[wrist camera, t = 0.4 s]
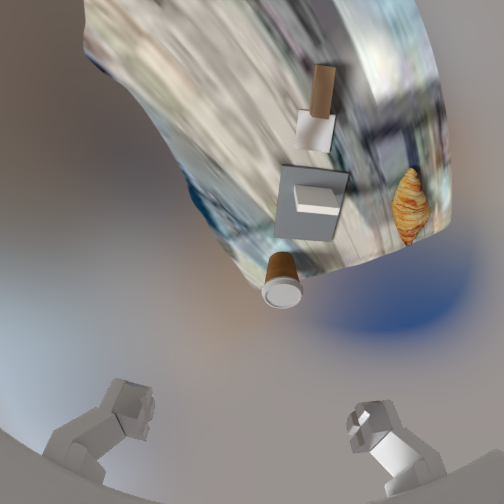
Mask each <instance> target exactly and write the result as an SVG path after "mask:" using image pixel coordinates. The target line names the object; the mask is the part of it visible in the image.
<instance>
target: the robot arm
mask: <svg viewBox="0 0 504 504" xmlns="http://www.w3.org/2000/svg"><path fill="white" fill-rule="evenodd" d="M154 409H155V401H154V398H153V397H152V388H151V387H148V386H144V385H140V384H136V383H133V382H129V381H126V380H122V379H119V378H114V379H113V380H112V381H111V383H110V386H109V387H108V389H107V392H106V394H105V396H104V398H103V400H102V402H101V404H100V407H99V408H97V407H95V408H93V409H91V410H90V411H88V412H86V413H84V414H83V415H81V416H79V417H77V418H76V419H74V420H72V421H71V422H69V423H67V424H65V425H63V426H62V427H60V428H58V429H56V430H54V431H53V433H52V435H51V437H50V439H49V441H48V443H47V446H46V448H45V450H44V452H43V454H42V456H41V455H40V454H38V453H36V452H35V451H33V450H31V449H30V448H28V447H27V446H25V445H24V444H22V443H20V442H19V441H18V440H16V439H15V438H13V437H12V436H11V435H9V434H8V433H6V432H5V431H4V430H2V429H1V428H0V504H163V503H159V502H155V501H151V500H147V499H143V498H140V497H137V496H133V495H130V494H127V493H123V492H121V491H118V490H115V489H112V488H109V487H107V486H104V485H102V484H103V480H104V477H105V473H106V471H105V470H104V468H103V467H102V466H101V465H100V464H99V463H98V462H97V460H98V459H99V458H100V457H102V456H103V455H104V454H105V453H107V452H108V451H109V450H110V449H112V448H113V447H114V446H115V445H117V444H118V443H119V442H120V441H122V440H123V439H124V438H125V437H126V436H128V437H132V438H135V439H139V440H143V441H146V438H147V435H148V431H149V425H148V422H149V421H150V420H152V418H153V414H154ZM355 410H356V411H354V412H352V413H351V414H350V415H349V417H348V419H347V431H348V433H349V434H350V435H351V436H352V438H351V440H350V443H351V448H352V451H353V453H360V452H368V451H370V453H371V454H372V455H373V456H374V457H375V458H376V459H377V460H378V461H379V462H380V464H381V465H382V466H384V468H385V469H386V470H387V471H388V472H389V473H390V474H391V475H392V476H393V477H394V478H393V479H391V480H390V481H388V482H387V483H386V484H385V485H384V486H385V490H386V494H387V498H383V499H379V500H375V501H371V502H367V503H363V504H504V452H502V451H500V450H498V449H495V450H492V451H490V452H488V453H487V454H485V455H483V456H482V457H480V458H479V459H477V460H475V461H473V462H471V463H469V464H468V465H466V466H464V467H462V468H460V469H458V470H456V471H454V472H452V473H450V474H447V472H446V470H445V467H444V464H443V462H442V459H441V456H440V454H439V452H437V451H436V450H434V449H433V448H432V447H430V446H429V445H428V444H426V443H425V442H424V441H422V440H421V439H420V438H418V437H417V436H416V435H415V434H413V433H412V432H411V431H410V430H408V429H407V428H403V426H402V424H401V421H400V419H399V416H398V414H397V411H396V409H395V406H394V404H393V402H392V401H391V400H383V401H372V402H363V403H359V404H357V405H356V407H355Z"/></svg>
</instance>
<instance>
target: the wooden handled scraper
mask: <svg viewBox="0 0 504 504" xmlns="http://www.w3.org/2000/svg"><path fill="white" fill-rule="evenodd" d="M335 70H336V68H334V67H329V66H323V65H316V64H315V66H314V76H313V85H312V93H311V102H310V110H309V111H307V110H300V109H299V113H298V122H297V131H296V139H295V147H294V148H295V149H304V150H312V151H320V152H327V153H329V151H330V145H331V139H332V134H333V127H334V121H335V115H334V114H330V108H331V101H332V94H333V86H334V78H335Z"/></svg>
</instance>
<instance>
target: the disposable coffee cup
mask: <svg viewBox="0 0 504 504" xmlns="http://www.w3.org/2000/svg"><path fill="white" fill-rule="evenodd" d="M302 295H303V287H302V285H301V284H300V282H299V278H298V275H297V271H296V268H295V264H294V261H293V257H292V256H291V255H290V254H288V253H285V252H277V253H275V254H273V255H272V256H271V257H270V259H269V263H268V269H267V274H266V279H265V285H264V287H263V288H262V296H263V298H264V300H265V302H266V303H267V304H268V305H270V306H272V307H275V308H280V309H283V308H289V307H292V306H294V305H296V304H297V303H298V302H299V301H300V299H301V297H302Z"/></svg>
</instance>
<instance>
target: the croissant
mask: <svg viewBox="0 0 504 504" xmlns="http://www.w3.org/2000/svg"><path fill="white" fill-rule="evenodd" d="M426 199H427V198H426V196H425V195H424V193H423V191H422V186H421V183H420V182H419V179H418V178H417V173H416V172H415V170H414V169H413V168H409V169H408V170H407V171H406V173H405V175H404V176H403V178H402V179H401V180H400V183H399V185H398V187H397V190H396V192H395V196H394V200H392V202H391V206H392V212H393V217H394V221H395V224H396V226H397V229H398V232H399V233H400V237H401V240H402V241H403V242H404V243H405V245H406V246H410V245H411V244H412V241H413V240H414V239H415V238H416V236H417V234H418V231H419V230H420V229H421V228H422V227H424V224H425V223H426V221H427V220H428V218H429V216H430V212H431V208H430V207H429V205H428V203H427V200H426Z"/></svg>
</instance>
